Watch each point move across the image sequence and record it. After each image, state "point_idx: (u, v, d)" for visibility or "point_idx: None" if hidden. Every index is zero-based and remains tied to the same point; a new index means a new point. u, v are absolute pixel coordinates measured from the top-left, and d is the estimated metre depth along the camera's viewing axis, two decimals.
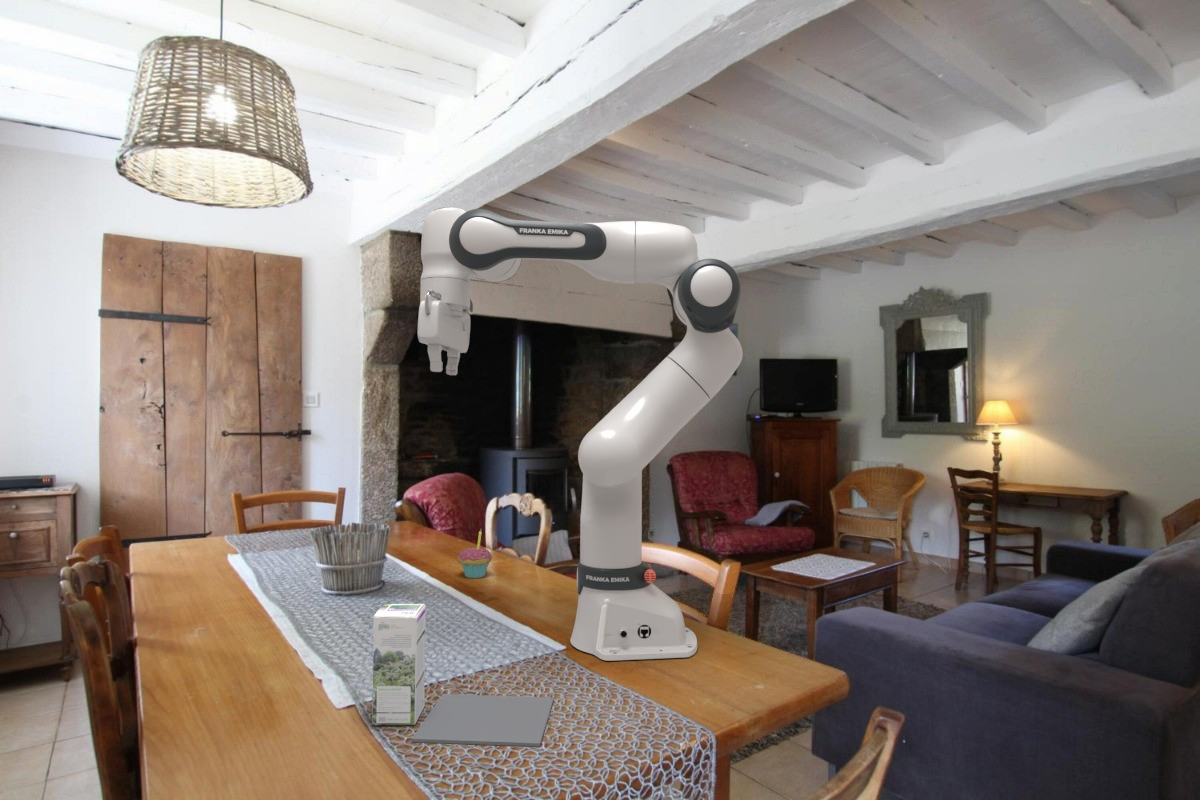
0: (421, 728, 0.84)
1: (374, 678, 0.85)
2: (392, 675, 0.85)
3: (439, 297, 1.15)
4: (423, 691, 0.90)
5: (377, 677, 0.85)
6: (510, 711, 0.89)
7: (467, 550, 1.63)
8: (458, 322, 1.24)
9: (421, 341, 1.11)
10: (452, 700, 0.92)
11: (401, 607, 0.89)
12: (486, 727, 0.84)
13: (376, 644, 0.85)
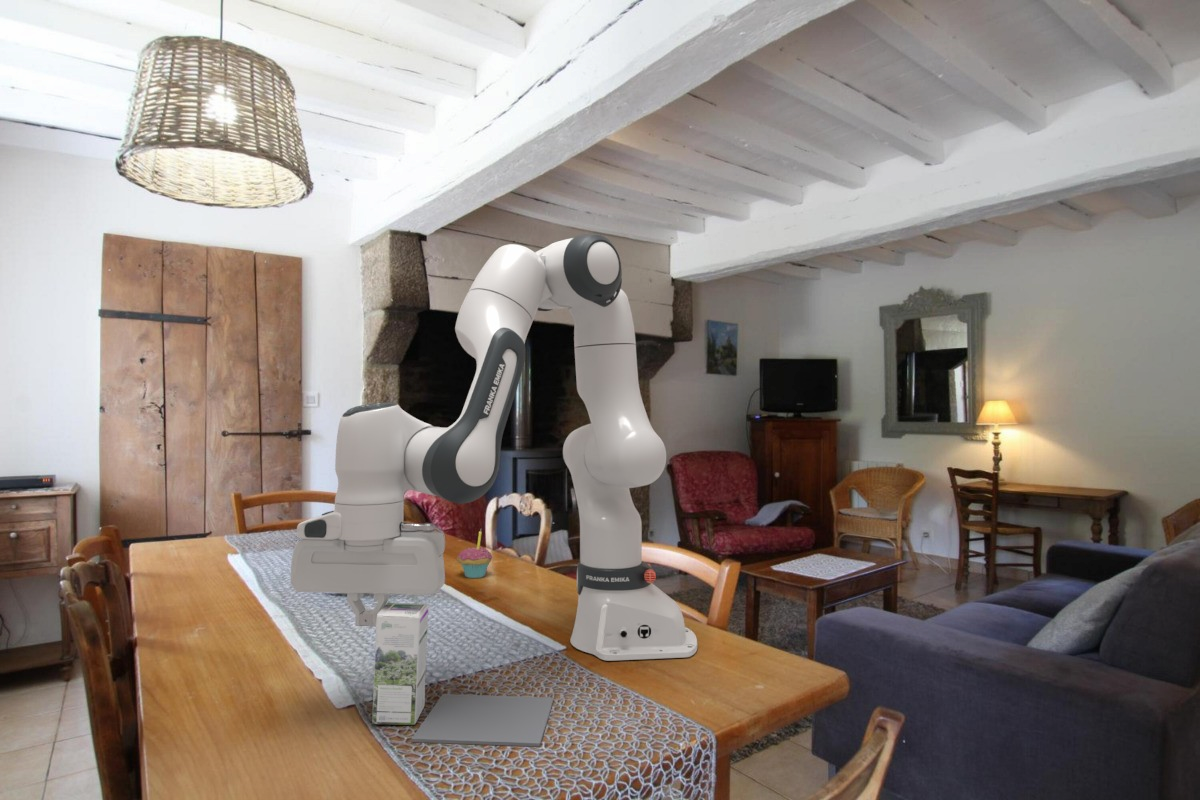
0: (421, 728, 0.84)
1: (375, 677, 0.85)
2: (394, 674, 0.85)
3: None
4: (424, 691, 0.90)
5: (378, 676, 0.85)
6: (510, 711, 0.89)
7: (467, 550, 1.63)
8: None
9: (434, 593, 0.87)
10: (452, 700, 0.92)
11: (404, 606, 0.88)
12: (486, 727, 0.84)
13: (378, 643, 0.85)
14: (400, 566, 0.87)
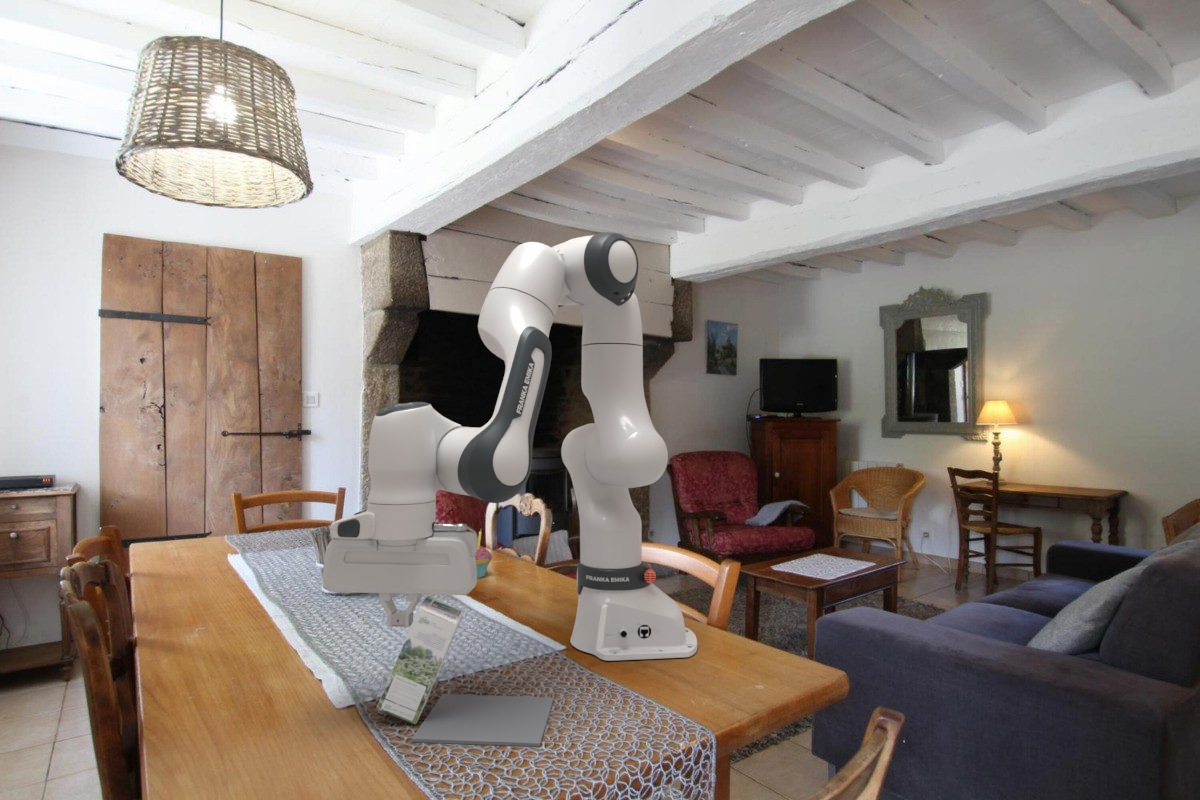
0: (421, 728, 0.84)
1: (396, 666, 0.85)
2: (414, 669, 0.85)
3: None
4: (430, 692, 0.90)
5: (398, 666, 0.85)
6: (510, 711, 0.89)
7: None
8: None
9: (467, 593, 0.87)
10: (452, 700, 0.92)
11: (443, 607, 0.89)
12: (486, 727, 0.84)
13: (410, 635, 0.85)
14: (433, 567, 0.86)
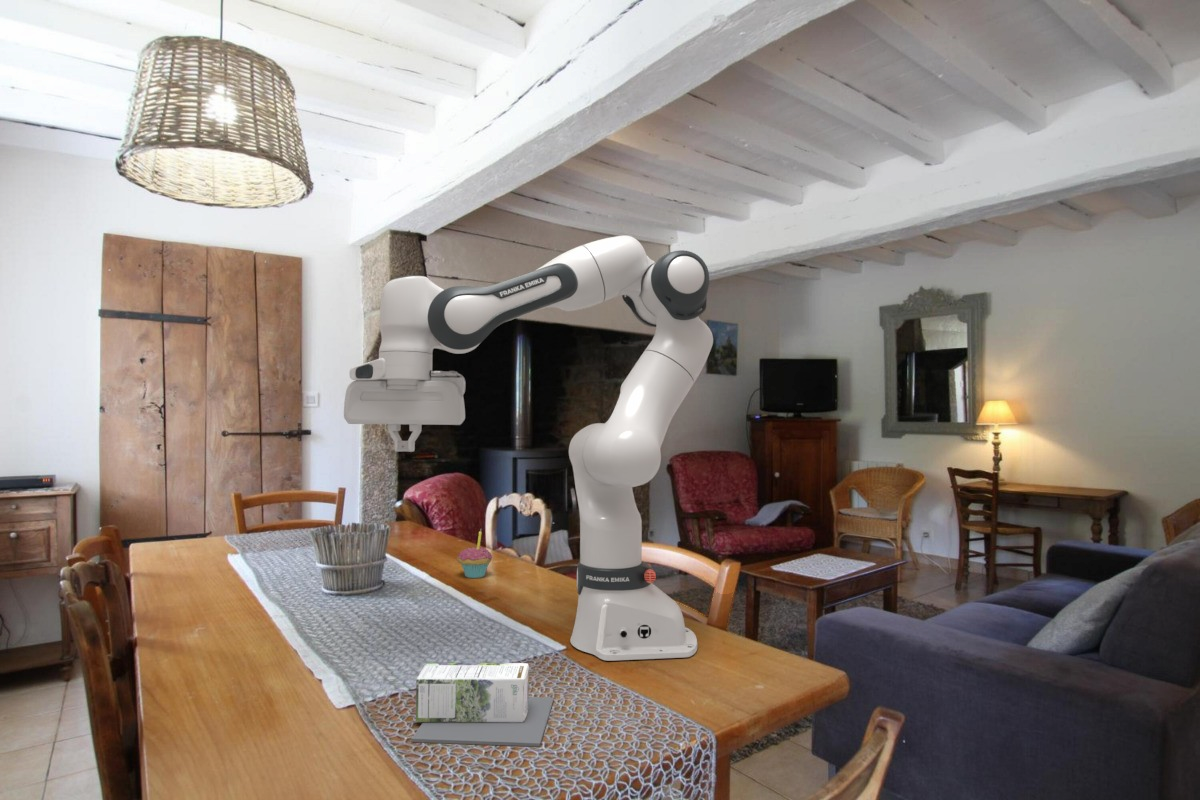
0: (421, 728, 0.84)
1: (463, 681, 0.86)
2: (466, 700, 0.85)
3: None
4: None
5: (464, 683, 0.86)
6: None
7: (467, 550, 1.63)
8: None
9: (457, 423, 1.10)
10: None
11: (528, 690, 0.89)
12: (486, 727, 0.84)
13: (496, 682, 0.86)
14: (430, 402, 1.10)
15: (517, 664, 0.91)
